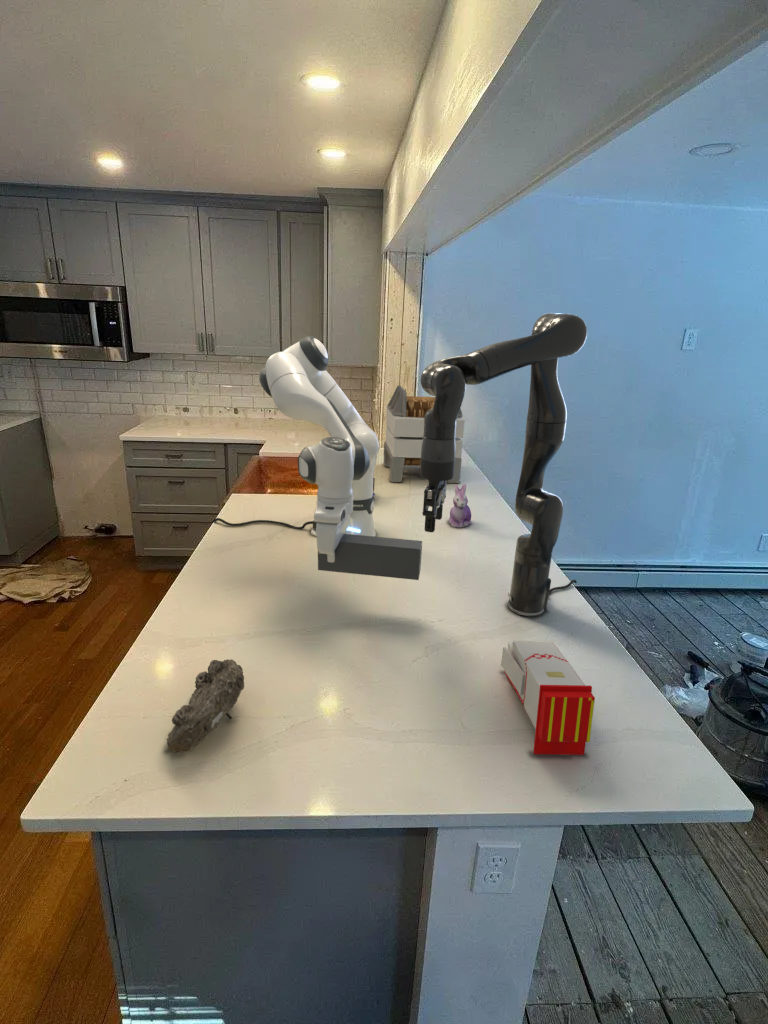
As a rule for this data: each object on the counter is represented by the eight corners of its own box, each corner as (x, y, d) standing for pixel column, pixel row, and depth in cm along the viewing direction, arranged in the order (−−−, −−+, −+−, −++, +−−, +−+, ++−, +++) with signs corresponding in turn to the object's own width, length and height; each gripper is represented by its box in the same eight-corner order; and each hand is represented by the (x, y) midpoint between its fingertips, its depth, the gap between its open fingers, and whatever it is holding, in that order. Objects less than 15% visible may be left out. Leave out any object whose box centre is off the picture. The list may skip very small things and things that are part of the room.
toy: (549, 624, 127) (604, 693, 98) (544, 678, 130) (596, 762, 100) (496, 622, 127) (535, 692, 97) (491, 677, 129) (528, 761, 100)
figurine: (457, 529, 205) (460, 490, 200) (441, 520, 214) (444, 482, 209) (478, 526, 210) (482, 487, 205) (462, 517, 218) (465, 480, 213)
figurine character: (374, 507, 229) (374, 492, 242) (375, 490, 225) (375, 475, 239) (358, 507, 228) (358, 491, 242) (358, 490, 225) (359, 475, 238)
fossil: (192, 660, 117) (244, 628, 112) (224, 691, 120) (276, 661, 115) (142, 746, 98) (202, 712, 93) (182, 779, 101) (242, 748, 96)
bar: (317, 570, 143) (317, 539, 140) (323, 561, 148) (323, 531, 145) (418, 580, 140) (420, 549, 137) (420, 571, 145) (422, 540, 142)
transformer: (382, 463, 289) (386, 382, 275) (445, 464, 293) (451, 384, 279) (390, 482, 257) (394, 392, 243) (460, 483, 261) (468, 394, 247)
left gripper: (332, 490, 149) (331, 539, 154) (311, 517, 130) (311, 571, 135) (355, 492, 148) (354, 541, 153) (338, 520, 129) (337, 574, 134)
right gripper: (449, 466, 118) (443, 538, 123) (459, 451, 131) (454, 516, 136) (413, 462, 120) (410, 533, 125) (428, 447, 132) (424, 513, 138)
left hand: (334, 555), depth 144 cm, fingers closed on bar, 5 cm apart
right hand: (433, 525), depth 131 cm, fingers open, 8 cm apart
